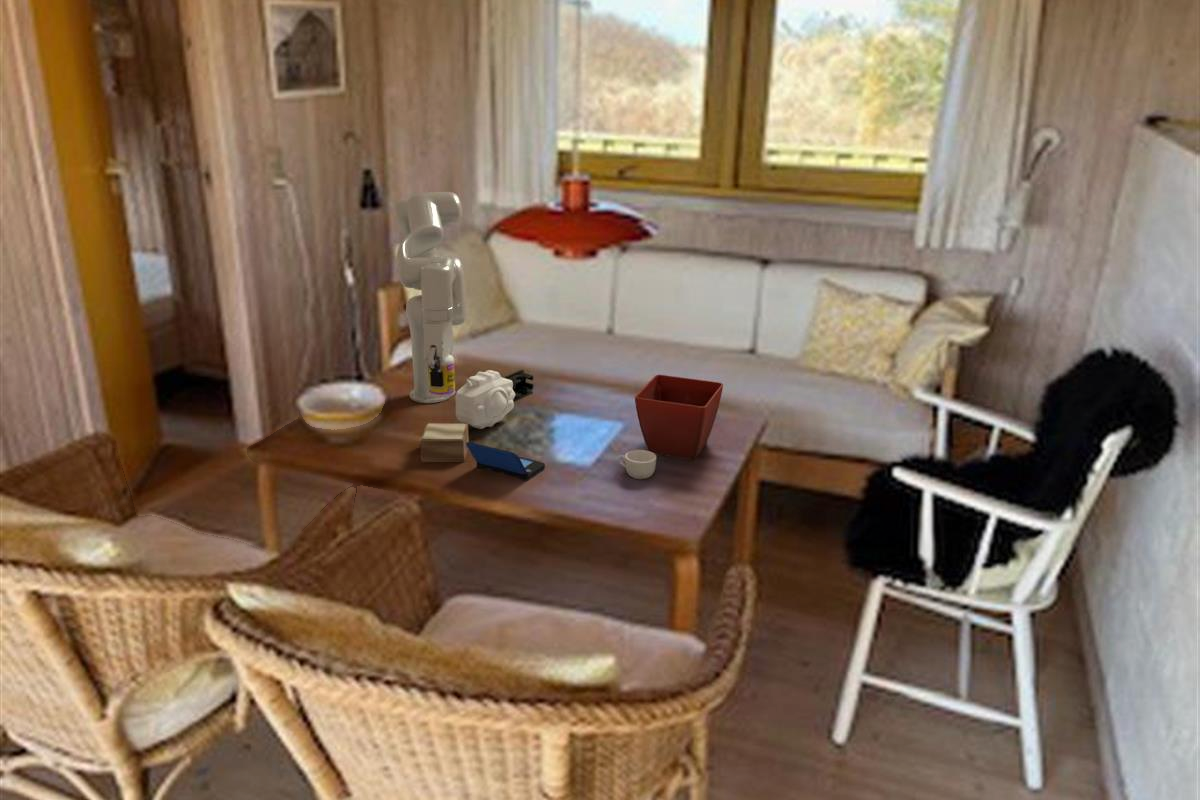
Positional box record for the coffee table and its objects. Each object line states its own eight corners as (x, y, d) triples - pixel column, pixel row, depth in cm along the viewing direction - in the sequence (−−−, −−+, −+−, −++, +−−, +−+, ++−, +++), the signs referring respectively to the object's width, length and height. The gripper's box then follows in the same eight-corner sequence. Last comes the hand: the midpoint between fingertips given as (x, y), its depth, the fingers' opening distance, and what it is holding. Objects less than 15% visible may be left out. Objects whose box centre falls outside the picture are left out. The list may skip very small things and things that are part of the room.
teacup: (660, 472, 234) (661, 453, 232) (648, 484, 227) (649, 465, 225) (624, 464, 238) (624, 445, 236) (611, 476, 231) (612, 457, 229)
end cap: (516, 388, 289) (516, 367, 287) (534, 392, 286) (534, 372, 283) (495, 397, 282) (495, 376, 279) (513, 402, 278) (513, 381, 275)
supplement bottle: (450, 400, 233) (447, 351, 229) (425, 397, 235) (422, 349, 230) (459, 390, 239) (457, 343, 235) (435, 388, 241) (432, 341, 236)
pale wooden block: (427, 444, 248) (426, 422, 246) (468, 444, 248) (467, 422, 246) (421, 461, 238) (420, 439, 236) (464, 461, 238) (463, 439, 236)
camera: (450, 430, 257) (448, 376, 251) (495, 411, 271) (493, 360, 265) (479, 440, 251) (477, 385, 245) (523, 420, 264) (522, 368, 259)
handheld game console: (547, 468, 236) (546, 435, 232) (517, 489, 225) (517, 454, 222) (496, 455, 243) (495, 423, 240) (466, 474, 232) (464, 440, 229)
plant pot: (631, 456, 243) (633, 396, 237) (654, 429, 259) (656, 373, 253) (701, 468, 236) (705, 407, 230) (720, 440, 253) (724, 383, 247)
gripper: (434, 303, 238) (438, 369, 244) (411, 322, 222) (416, 392, 228) (462, 305, 237) (465, 371, 243) (442, 324, 221) (445, 394, 227)
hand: (441, 380), depth 236 cm, fingers closed on supplement bottle, 6 cm apart
